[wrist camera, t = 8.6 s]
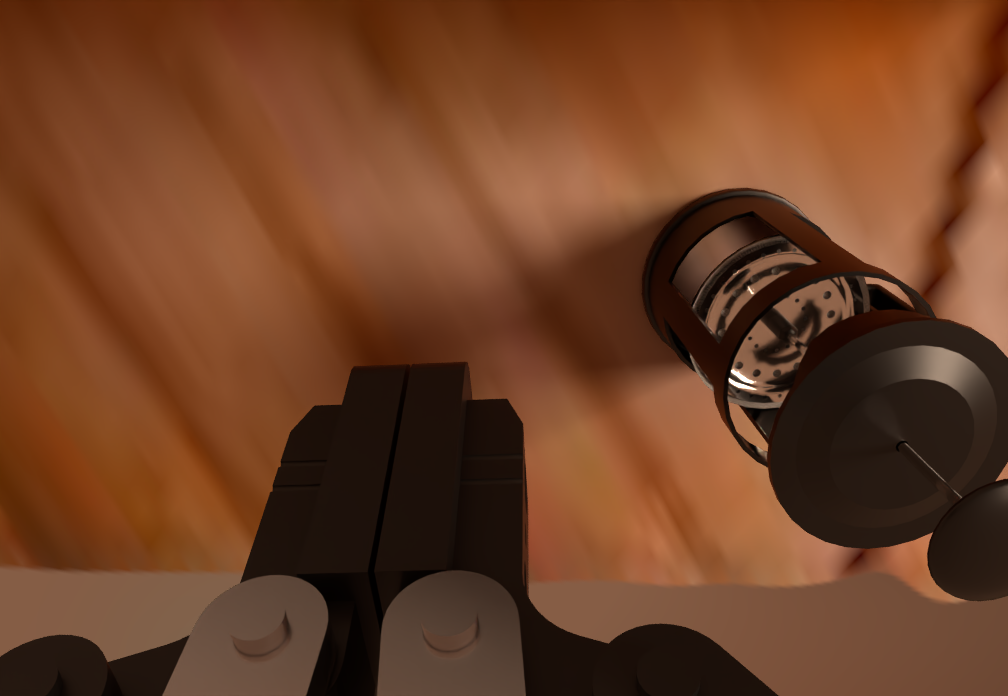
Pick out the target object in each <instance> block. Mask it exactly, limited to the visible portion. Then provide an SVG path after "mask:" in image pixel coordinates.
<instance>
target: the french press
mask: <svg viewBox="0 0 1008 696" xmlns="http://www.w3.org/2000/svg"><path fill="white" fill-rule="evenodd" d="M746 216H750V217H757V218H758V219H759V220H761V221H762V222H763V223H765V224H766V225H767V226H769V227H770V228H771V229H773V230H774V231H775V232H777V233H778V234H779V235H775V236H770V237H766V238H763V239H760V240H757V241H754V242H752V243H750V244H748V245H746V246H744V247H742V248H740V249H739V250H737V251H736V252H734V253H733V254H731V255H730V256H729V257H727V258H726V259H724V260H723V261H722V262H721V263H720V264H719V265H718V266H717V267H716V268H715V269H714V270H713V271H712V272H711V273H710V275H709V276H708V277H707V279H706V280H705V281H704V283H703V284H702V285H701V287H700V289H699V290H698V292H697V294H696V296H695V298H694V300H693V303H692V305H690V304H689V303H688V301H687V300H686V299H685V298H684V297H683V295H682V294H681V293H680V292H679V291H678V289H677V288H676V287H675V286H674V285H673V283H672V281H673V279H674V276H675V274H676V272H677V270H678V268H679V266H680V264H681V263H682V261H683V260H684V259H685V257H686V256H687V254H688V253H689V251H690V250H691V249H692V248H693V247H694V246H695V245H696V244H697V243H698V242H699V241H700V240H701V239H702V238H704V237H705V236H706V235H708V234H709V233H711V232H712V231H714V230H715V229H716V228H718V227H720V226H722V225H724V224H726V223H728V222H731V221H733V220H735V219H738V218H742V217H746ZM864 277H872V278H879V279H882V280H885V281H888V282H890V283H893V284H896V285H898V286H899V287H900V288H901V290H902V291H903V292H904V293H905V294H906V295H907V296H908V297H909V299H910V301H911V303H912V304H913V306H914V308H915V309H914V308H912V307H911V306H910V305H908V304H907V303H905V302H904V301H902V300H901V299H900V298H898V297H897V296H895V295H894V294H892V293H891V292H889V291H888V290H887V289H885V288H884V287H882V286H880V285H878V284H866V282H865V278H864ZM642 296H643V302H644V307H645V311H646V314H647V316H648V318H649V321H650V323H651V325H652V327H653V328H654V329H655V331H656V332H657V334H658V335H659V337H660V338H661V339H662V340H663V341H664V342H665V343H666V344H667V345H668V346H669V347H671V348H672V349H673V350H674V351H675V352H676V353H677V355H678V356H679V358H680V359H681V360H682V361H683V362H684V363H685V364H686V365H687V366H688V367H690V368H691V369H692V370H693V371H695V372H696V373H697V374H698V375H699V376H700V378H701V379H702V381H703V382H704V383H705V385H706V386H708V387H709V388H710V389H711V390H712V391H713V392H714V397H715V403H716V406H717V408H718V411H719V413H720V416H721V418H722V420H723V422H724V423H725V424H726V426H727V427H728V429H729V430H730V432H731V433H732V435H733V436H734V437H735V439H736V440H737V442H738V443H739V444H740V446H741V447H742V449H743V450H744V451H745V452H746V453H748V454H749V455H750V456H751V457H752V458H753V459H755V460H756V461H757V462H759V463H761V464H762V465H764V466H766V467H768V471H769V478H770V482H771V485H772V487H773V490H774V492H775V495H776V498H777V500H778V501H779V502H780V504H781V505H782V507H783V508H784V509H785V511H786V512H787V514H788V515H789V517H790V518H791V519H792V520H793V521H794V522H795V523H796V524H798V525H799V526H800V527H801V528H802V529H803V530H805V531H806V532H807V533H809V534H811V535H813V536H815V537H817V538H819V539H821V540H823V541H825V542H828V543H832V544H836V545H839V546H843V547H851V548H865V549H870V548H880V547H890V546H894V545H898V544H902V543H906V542H909V541H913V540H916V539H918V538H920V537H923V536H925V535H927V534H930V533H932V532H933V534H932V536H931V539H930V542H929V547H928V552H927V558H928V568H929V571H930V574H931V576H932V578H933V580H934V581H935V583H936V584H937V585H938V586H939V587H940V588H941V589H942V590H944V591H945V592H947V593H949V594H951V595H952V596H954V597H957V598H960V599H964V600H969V601H987V600H994V599H998V598H1002V597H1006V596H1008V479H1003V480H999V481H996V479H997V478H998V476H999V475H1000V473H1001V472H1002V470H1003V469H1004V467H1005V465H1006V464H1007V462H1008V358H1007V356H1006V355H1005V354H1004V353H1003V352H1002V351H1001V350H1000V349H999V348H998V347H997V345H996V344H995V343H994V342H992V341H991V340H989V339H988V338H986V337H985V336H983V335H982V334H980V333H979V332H977V331H975V330H974V329H972V328H971V327H968V326H965V325H962V324H960V323H957V322H954V321H951V320H946V319H938V318H936V316H935V314H934V313H933V311H932V309H931V307H930V305H929V304H928V303H927V302H926V301H925V300H924V299H923V298H922V297H921V296H920V295H919V293H918V292H917V291H915V290H914V289H912V288H911V287H909V286H908V285H906V284H905V283H903V282H901V281H900V280H898V279H897V278H895V277H894V276H892V275H891V274H889V273H888V272H886V271H885V270H883V269H880V268H877V267H875V266H872V265H869V264H866V263H864V262H862V261H861V260H859V259H858V258H857V257H855V256H854V255H852V254H851V253H849V252H848V251H846V250H845V249H843V248H842V247H840V246H839V245H837V244H836V243H834V242H833V241H831V239H830V238H829V237H828V236H827V235H826V234H825V233H824V232H823V231H822V229H821V228H820V227H818V226H817V225H815V224H814V223H812V222H811V221H810V220H809V219H808V218H807V217H806V216H805V214H804V213H803V212H802V211H801V210H800V209H799V208H798V207H797V206H795V205H794V204H792V203H790V202H789V201H787V200H786V199H784V198H783V197H781V196H779V195H776V194H773V193H770V192H768V191H765V190H758V189H751V188H741V189H728V190H724V191H720V192H717V193H713V194H710V195H708V196H705V197H703V198H701V199H699V200H697V201H695V202H693V203H692V204H690V205H689V206H687V207H686V208H684V209H683V210H682V211H680V212H679V213H678V214H677V215H676V216H675V217H674V218H673V219H672V220H671V221H670V222H669V223H668V224H667V225H666V226H665V227H664V228H663V230H662V231H661V233H660V234H659V236H658V237H657V238H656V240H655V241H654V243H653V246H652V248H651V250H650V252H649V255H648V257H647V259H646V264H645V268H644V272H643V277H642ZM728 401H729V402H731V403H734V404H738V405H739V406H740V407H741V409H742V410H743V411H744V413H745V414H746V415H747V417H748V418H749V419H750V421H751V422H752V423H753V425H754V426H755V427H756V429H757V430H758V431H759V433H760V434H761V435H762V437H763V438H764V439H765V441H766V442H767V443H768V452H767V451H764V450H762V449H760V448H758V447H756V446H754V445H753V444H751V443H749V442H748V441H746V440H745V439H744V438H743V437H742V436H741V435H740V434H738V433H737V432H736V429H735V427H734V424H733V422H732V419H731V417H730V411H729V404H728ZM779 407H780V408H779Z"/></svg>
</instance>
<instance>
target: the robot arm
mask: <svg viewBox="0 0 1008 696" xmlns="http://www.w3.org/2000/svg"><path fill="white" fill-rule="evenodd" d="M0 696H778V695H777V694H776V693H775V692H773V691H772V690H771V689H770V688H769V687H768V686H766V685H765V684H764V683H763V682H762V681H761V680H759V679H758V678H757V677H756V676H755V675H753V674H752V673H751V672H750V671H749V670H748V669H746V668H745V667H744V666H743V665H742V664H741V663H739V662H738V661H737V660H736V659H735V658H734V657H732V656H731V655H730V654H729V653H728V652H727V651H725V650H724V649H723V648H722V647H721V646H719V645H718V644H717V643H715V642H714V641H713V640H711V639H710V638H708V637H707V636H705V635H703V634H701V633H699V632H697V631H694V630H692V629H689V628H686V627H682V626H677V625H671V624H649V625H644V626H640V627H636V628H633V629H631V630H628V631H626V632H624V633H622V634H621V635H619V636H617V637H616V638H615V639H613V640H612V641H611V642H610V643H609V644H608V643H604V642H601V641H597V640H593V639H589V638H585V637H582V636H579V635H576V634H573V633H570V632H567V631H565V630H563V629H561V628H559V627H557V626H556V625H554V624H553V623H551V622H550V621H548V620H547V619H546V618H545V617H544V616H543V615H541V614H540V613H539V612H538V611H537V609H536V608H535V607H534V605H533V604H532V603H531V601H530V599H529V597H528V497H527V481H526V464H525V448H524V432H523V423H522V421H521V420H520V418H519V417H518V415H517V414H516V412H515V410H514V409H513V407H512V406H511V404H510V403H509V401H508V399H485V400H472V392H471V382H470V373H469V367H468V363H467V362H454V363H427V364H412V366H411V367H410V365H409V364H406V365H380V366H354V367H353V368H352V370H351V373H350V377H349V381H348V384H347V388H346V392H345V395H344V399H343V403H342V405H321V406H314V407H313V408H312V409H311V410H310V411H309V412H308V413H307V414H306V416H305V417H304V418H303V419H302V420H301V421H300V422H299V423H298V424H297V425H296V426H295V427H294V429H293V430H292V431H291V432H290V435H289V438H288V441H287V444H286V447H285V450H284V453H283V456H282V459H281V467H279V468H278V471H277V474H276V477H275V480H274V483H273V492H270V495H269V498H268V501H267V504H266V507H265V510H264V513H263V516H262V519H261V522H260V525H259V528H258V531H257V534H256V537H255V540H254V543H253V546H252V549H251V552H250V555H249V558H248V561H247V564H246V567H245V570H244V573H243V576H242V579H241V582H240V584H237V585H235V586H233V587H232V588H230V589H229V590H227V591H225V592H223V593H222V594H221V595H219V596H218V597H217V598H215V599H214V600H213V601H212V602H211V603H210V604H209V605H208V606H207V607H206V608H205V610H204V611H203V612H202V614H201V615H200V616H199V618H198V620H197V622H196V623H195V625H194V627H193V630H192V632H191V634H190V635H189V636H187V637H185V638H182V639H181V640H178V641H176V642H173V643H170V644H167V645H164V646H161V647H157V648H154V649H151V650H147V651H144V652H141V653H138V654H134V655H131V656H127V657H124V658H120V659H117V660H114V661H111V662H107V660H106V658H105V656H104V654H103V652H102V651H101V650H100V648H99V647H98V646H97V645H96V644H94V643H93V642H91V641H90V640H87V639H85V638H83V637H79V636H73V635H55V636H47V637H43V638H40V639H36V640H33V641H30V642H27V643H25V644H22V645H20V646H18V647H16V648H14V649H12V650H10V651H9V652H7V653H5V654H4V655H2V656H1V657H0Z"/></svg>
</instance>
